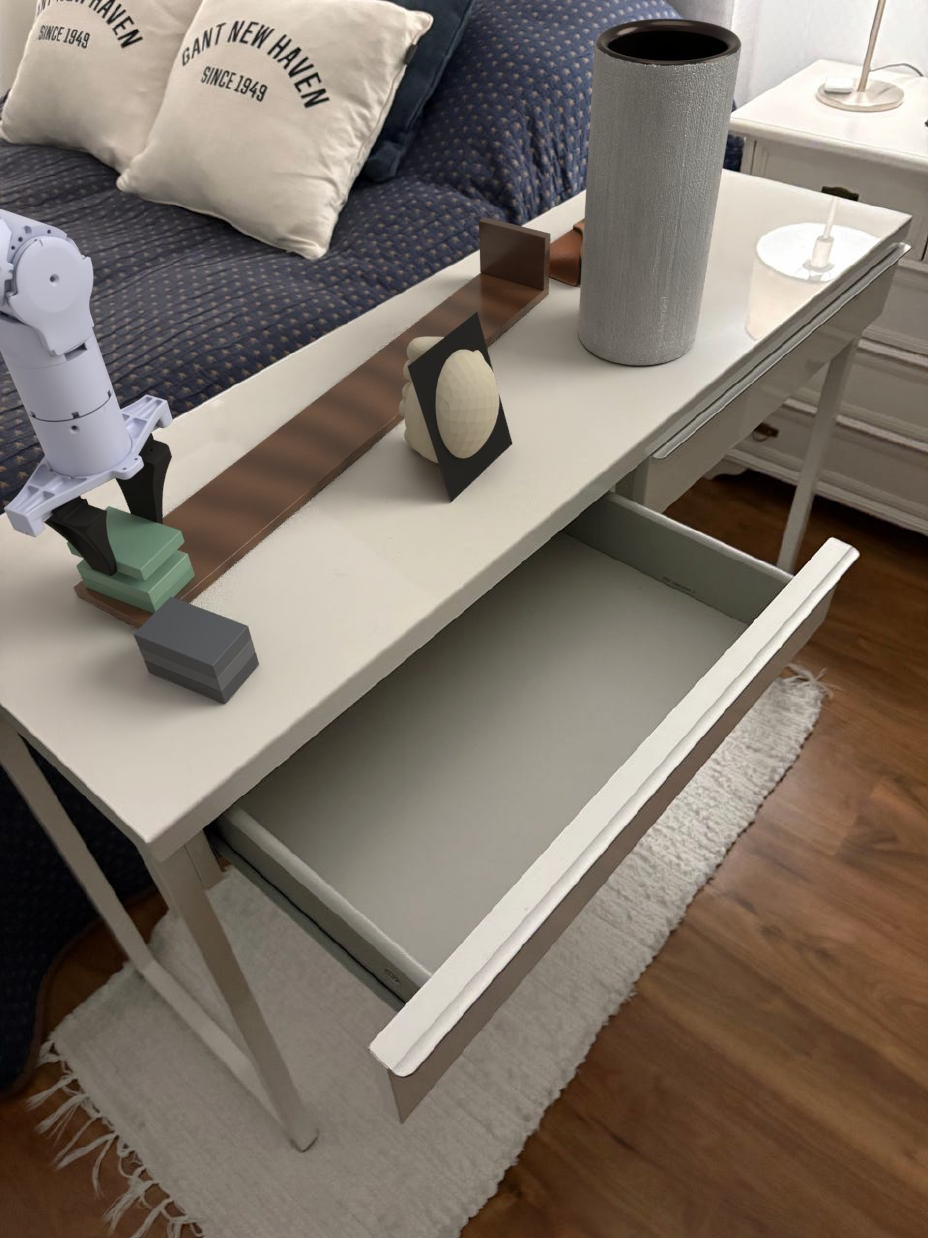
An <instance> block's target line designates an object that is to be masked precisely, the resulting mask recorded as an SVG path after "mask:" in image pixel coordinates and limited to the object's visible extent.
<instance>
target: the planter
mask: <svg viewBox="0 0 928 1238" xmlns="http://www.w3.org/2000/svg"><path fill="white" fill-rule="evenodd" d="M593 48H594V49H593V50H594V51H593V65H592V67H593V68H592V82H591V83H592V84H591V99H590V117H589V118H590V119H589V133H588V134H589V135H588V151H587V152H588V153H587V168H586V169H587V170H586V186H585V200H584V201H585V202H584V218H583V219H584V235H583V252H582V269H581V284H580V285H579V287H580V288H579V304H578V337H579V340H580V342H581V344H582V345H583V347H585V348H586V350H588V351H589V352H590V353H592V354H593V355H595V356H597V357H599V358H601V359H603V360H606V361H608V362H612V363H617V364H621V365H626V366H627V365H628V366H653V365H658V364H664V363H668V362H671V361H674V360H676V359H678V358H680V357H682V356H683V355H685V354H686V353H687V352H688V351H689V350H690V349H691V348H692V347H693V346H694V343H695V340H696V335H697V331H698V327H699V321H700V313H701V308H702V302H703V295H704V289H705V282H706V276H707V275H706V274H707V268H708V263H709V257H710V256H709V255H710V250H711V243H712V237H713V230H714V226H715V225H714V224H715V219H716V218H715V217H716V212H717V206H718V198H719V192H720V186H721V180H722V172H723V168H724V161H725V155H726V149H727V141H728V136H729V129H730V124H731V123H730V122H731V117H732V112H733V111H732V109H733V103H734V98H735V97H734V96H735V93H736V92H735V91H736V86H737V85H736V84H737V78H738V71H739V64H740V59H741V52H742V42H741V39H740V38H739V36H738V35H737V34H736V33H735V32H733V31H732V30H730V29H728V28H726V27H723V26H721V25H719V24H715V23H711V22H707V21H702V20H694V19H686V18H648V19H638V20H633V21H628V22H623V23H620V24H619V23H618V24H617V25H614V26H612V27H609V28H607V29H605V30H603V31H602V32H601V33H600V34H599V35H598V36H597V38H596V39H595V41H594V47H593Z"/></svg>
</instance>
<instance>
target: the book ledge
mask: <svg viewBox="0 0 928 1238" xmlns="http://www.w3.org/2000/svg"><path fill="white" fill-rule="evenodd" d="M478 234H479V235H478V237H479V238H478V239H479V240H478V241H479V273H478V274H476V276H474V277H473V278H472V279H470V280H469V281H467V282H466V283H465V284H464V285H462V286H461V287H460V288H458V289H457V290H456V291H454V293H452V294H451V295H450V296H449V297H447V298H446V299H445V300H443V301H442V302H440V303H439V304H438V305H437V306H435V307H434V308H432V310H431V311H429V312H428V313H426V314H425V315H424V316H422V317H421V318H419V319H418V320H417V321H415V322H414V323H413V324H412V325H411V326H409V327H408V328H407V329H406V330H404V331H403V332H402V333H400V334H399V335H398V336H396V337H395V338H394V339H393V340H391V341H389V343H388V344H386V345H384V347H382V348H381V349H379V350H378V351H377V352H375V353H374V354H373V355H372V356H371V357H369V358H368V359H367V360H365V361H364V362H363V363H361V364H360V365H359V366H358V367H356V368H355V369H354V370H352V371H351V372H350V373H349V374H348V375H346V376H345V377H343V378H342V379H341V380H340V381H338V382H337V383H336V384H334V385H333V386H332V387H330V388H329V389H328V390H327V391H325V392H324V393H323V394H321V395H320V396H318V397H317V398H316V399H315V400H313V401H312V402H311V403H310V404H308V405H307V406H306V407H304V408H303V409H302V410H301V411H300V412H298V413H297V414H295V415H294V416H293V417H292V418H290V419H289V420H288V421H286V422H285V423H284V424H283V425H281V426H280V427H279V428H277V429H276V430H275V431H274V432H272V433H271V434H269V435H268V436H267V437H265V439H263V440H262V441H261V442H259V443H258V444H257V445H255V446H254V447H252V448H251V449H250V450H249V451H248V452H246V453H245V454H244V455H242V456H241V457H240V458H238V459H237V460H236V461H235V462H233V463H232V464H231V465H230V466H228V467H226V469H224V470H223V471H222V472H220V473H219V474H218V475H216V476H214V478H212V479H211V480H210V481H209V482H208V483H206V484H205V485H204V486H202V487H201V488H200V489H198V490H197V491H196V492H195V493H193V494H192V495H191V496H189V497H188V498H187V499H185V500H184V501H182V503H180V504H179V505H178V506H176V507H175V508H174V509H172V510H171V511H170V512H169V513H167V514H166V515H165V516H163V525H165V526H168V527H171V528H174V529H177V530H180V531H181V533H182V536H183V539H184V543H183V544H182V545H181V546H180V547H179V548H178V549H177V550H178V551H181V552H184V553H187V554H188V556H189V559H190V562H191V565H192V568H193V571H194V574H195V576H194V577H193V578H192V579H191V580H190V581H189V582H188V583H187V584H186V585H185V586H184V587H183V588H182V589H181V590H180V591H179V593H178V594H177V595H176V596H175V597H174V598H176V599H178V600H181V601H184V602H186V603H189V604H191V603H192V601H194V600H195V599H197V597H198V596H199V595H201V594H202V593H203V592H204V591H205V590H206V589H208V588H209V587H210V586H211V585H212V584H213V583H214V582H216V581H217V580H218V579H219V578H220V577H222V575H224V574H225V573H226V572H228V571H229V570H230V569H231V568H232V567H233V566H235V565H236V564H237V563H238V562H240V560H242V558H244V557H245V556H246V555H248V554H249V552H251V551H252V550H253V549H254V548H255V547H257V546H258V545H259V544H260V543H261V542H263V540H265V539H266V538H267V537H268V536H270V534H271V533H273V532H275V530H277V528H279V527H280V526H281V525H283V523H285V521H287V520H288V519H289V518H291V516H293V515H295V513H296V512H297V511H298V510H299V509H300V508H302V507H304V505H306V503H308V502H309V501H310V500H311V499H313V498H314V497H315V496H317V494H318V493H319V492H321V491H322V490H323V489H324V488H326V487H327V485H329V484H330V483H331V482H332V481H333V480H335V479H336V478H337V477H338V476H339V475H340V474H341V473H343V472H344V470H347V468H348V467H350V466H351V465H352V464H353V463H355V462H356V461H357V460H358V459H359V458H360V457H362V455H364V454H365V453H366V452H367V451H368V450H369V449H370V448H372V447H373V446H374V445H375V444H376V443H378V441H380V440H381V439H382V438H383V437H385V436H386V435H387V434H388V433H389V432H390V431H391V430H392V429H395V427H396V426H397V425H398V424H400V423H401V422H402V421H403V420H405V418H404V417H402V416H401V414H400V412H399V405H400V402H401V401H402V399H403V396H402V389H403V387H404V386H405V385H406V384H407V383H409V382H410V381H408V380H407V379H406V378H405V377H404V374H403V368H404V365H405V363H406V362H407V361H408V360H409V358H408V356H407V348H408V345H409V343H410V342H411V341H412V340H413V339H415V338H418V337H445V336H447V335H448V334H449V333H450V332H452V331H453V330H454V329H456V328H457V327H458V326H459V325H461V324H462V323H463V322H465V321H466V320H467V319H468V318H470V317H471V316H472V315H473V314H475V313H476V312H477V313H478V316H479V320H480V324H481V328H482V331H483V335H484V339H485V343H486V346H487V348H489V346H490V345H491V344H493V343H494V342H495V341H497V339H499V338H500V337H501V336H502V335H504V333H506V332H507V331H508V330H509V329H510V328H511V327H513V326H514V325H515V324H516V323H517V322H518V321H520V320H521V319H522V318H523V317H524V316H526V314H528V313H529V312H531V310H532V309H533V308H535V307H536V306H537V305H539V304H540V303H541V301H543V300H544V299H545V298H546V297H548V296H549V294H550V277H549V266H550V244H551V233H549V232H546V231H542V230H537V229H533V228H529V227H525V226H522V225H517V224H514V223H510V222H506V221H502V220H498V219H493V218H490V217H486V216H485V217H482V218H481V219H480V220H478ZM73 590H74V592H75V594H76V596H77V597H79V598H81V599H82V600H84V601H86V602H88V603H89V604H92V605H93V606H95V607H97V608H99V609H101V610H103V611H104V612H106V613H108V614H110V615H112V616H113V617H115V618H117V619H118V620H121V621H122V622H124V623H126V624H128V625H130V626H132V627H134V628H135V629H137V630H138V629H139V628H140V627H141V626H142V625H143V624H144V623H145V622H146V621H147V620H148V619H149V618H150V617H151V616H152V615H153V613H151V612H148V611H146V610H143V609H140V608H138V607H135V606H133V605H130V604H127V603H125V602H122V601H120V600H117V599H115V598H112V597H109V596H107V595H104V594H102V593H99V592H97V591H94V590H91V589H89V588H86V587H85V585H84V583H83V580H82V579H81V581H79V582H78V583H77V584H75V585H74V586H73Z"/></svg>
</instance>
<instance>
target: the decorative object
mask: <svg viewBox="0 0 928 1238" xmlns="http://www.w3.org/2000/svg"><path fill="white" fill-rule="evenodd" d="M407 356H408V358H409V360H408V361H407V362H406V363H405V365H404V368H403V374H404V377H405V378H406V379H407V380H408V381H410V382H409V383H407V384H406V385H405V386H404V387H403V389H402V396H403V399H402V401H401V402H400V405H399V412H400V414H401V416H402V417H404V422H405V423H404V424H405V429H404V433H403V434H404V435H403V437H404V439H405V442H406V443H407V444H408V446H410V447H411V448H412V449H413V450H414V451H415V452H417V453H419V454H420V455H421V456H422V457H423V458H425V459H427V460H429V461H431V462H433V463H435V464H438V466H439V469H440V472H441V476H442V479H443V482H444V485H445V488H446V491H447V494H448V498H449V500H450V503H452V502H453V501H454V500H456V498H458V497H459V496H460V495H461V494H462V493H463V492H464V491H465V490H466V489H467V488H468V487H469V486H470V485H471V484H472V483H473V482H474V481H476V479H477V478H478V477H480V476H481V474H483V473H484V472H485V471H486V470H487V469H488V468H489V467H490V466H491V465H492V464H493V463H494V462H495V461H496V460H497V459H498V458H499V457H500V456H501V455H503V454H504V452H505V451H507V449H509V448H510V447H511V446H512V445H513V440H512V436H511V432H510V429H509V424H508V422H507V417H506V415H505V410H504V407H503V406H504V405H503V403H502V400H501V399H502V398H501V395H500V391H499V385H498V381H497V379H496V375H495V372H494V368H493V366H492V362H491V359H490V355H489V351H488V347H487V346H486V343H485V339H484V335H483V331H482V328H481V324H480V320H479V316H478V313H477V312H476V313H475V314H473V315H472V316H471V317H470V318H468V319H467V320H466V321H465V322H463V323H462V324H461V325H459V326H458V327H457V328H456V329H454V330H453V331H452V332H450V333H449V334H448V335H447V336H445V337H418V338H415V339H413V340H412V341H411V342H410V343H409V345H408V348H407Z"/></svg>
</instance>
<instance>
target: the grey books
mask: <svg viewBox="0 0 928 1238" xmlns="http://www.w3.org/2000/svg"><path fill="white" fill-rule="evenodd" d="M133 636H134V640H135V643H136V645H137V646H138V649H139V652H140V653H141V656H142V659H143V661H144V664H145V666H146V668H147V671H148V673H150V674H152V675H155V676H156V677H159V678H162V679H163V680H166V681H168V682H171V683H173V684H175V685H178V686H181V687H183V688H185V689H187V690H190V691H193V692H195V693H197V694H200V695H202V696H204V697H207V698H210V699H211V700H215V701H217V702H219V703H222V704H224V705H226V704H227V703H228V702H229V701H230V699H231V698H232V697H233V696H234V695H235V694H236V693H237V691H238V690H239V689H240V688H241V687H242V686H243V684H244V683H245V682H246V681H247V679H248V678H249V677H250V676H251V675H252V674H253V672H254V671H255V670H256V669H257V667H259V665H260V661H259V659H258V655H257V652H256V648H255V645H254V641H253V639H252V635H251V631H250V628H249V625H247V624H245V623H242V622H239V621H237V620H234V619H231V618H229V617H226V616H223V615H220V614H218V613H216V612H213V611H210V610H208V609H204V608H202V607H199V606H196V605H194V604H191V603H186V602H184V601H181V600H178V599H176V598H173V597H170V598H169V599H168V600H167V601H166V602H165V603H164V604H163V605H162V606H161V607H160V608H159V609H158V610H157V611H156V612H155V613H154V614H153V615H152V616H151V617H150V618H149V619H148V620H147V621H146V622H145V623H144V624H143V625H142V626H141V627H140V628H139V629H137V630H136V631H135V632H134V633H133Z"/></svg>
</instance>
